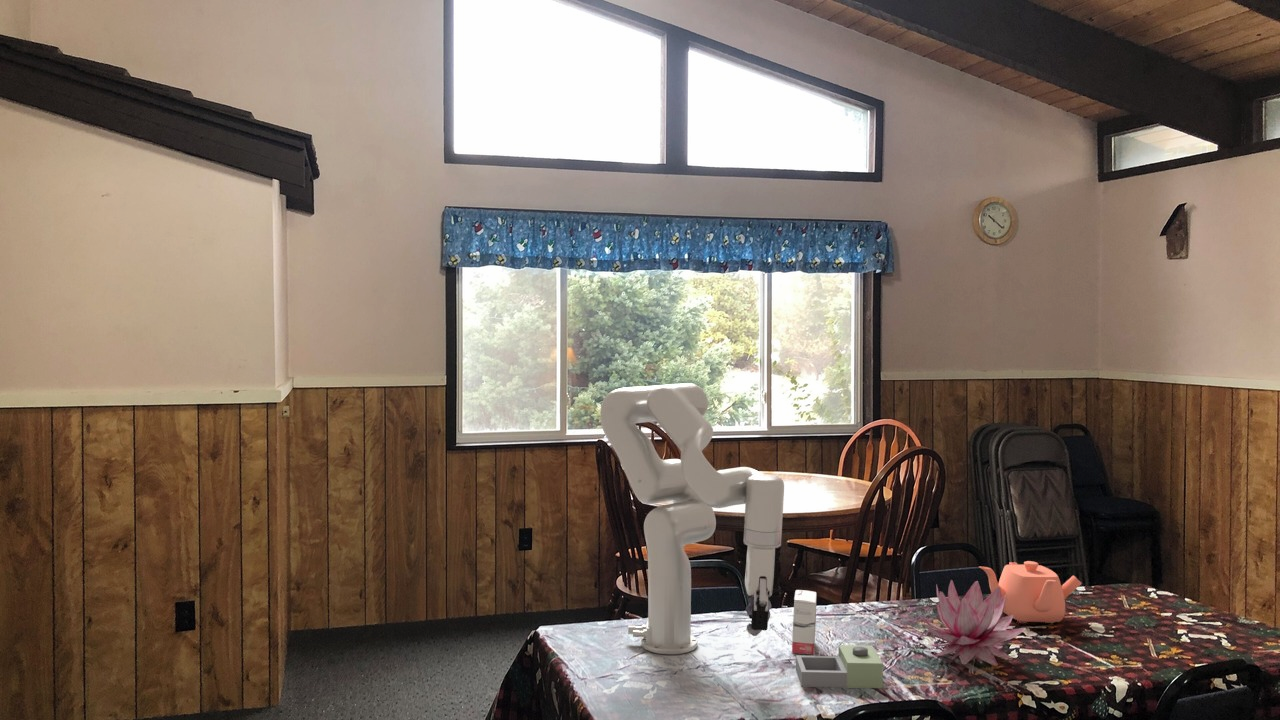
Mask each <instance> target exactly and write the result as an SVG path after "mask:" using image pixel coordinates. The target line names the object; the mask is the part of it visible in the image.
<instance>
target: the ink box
mask: <svg viewBox="0 0 1280 720" xmlns="http://www.w3.org/2000/svg"><path fill="white" fill-rule="evenodd" d="M793 600H794V601H793V602H794V603H793V614H792V615H793V618H792V638H791V639H792V640H791V644H792V645H791V654H797V655H798V654H799V655H800V654H801V655H802V654H803V655H810V656H814V654H815V642H816V641H815V640H816V625H817V624H816V623H817V621H816V620H817V592H816V591H813V590H808V589H807V590H806V589H805V590H803V589H796V590H795V592H794V597H793Z"/></svg>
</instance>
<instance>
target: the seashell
mask: <svg viewBox="0 0 1280 720" xmlns="http://www.w3.org/2000/svg"><path fill="white" fill-rule="evenodd" d="M756 595H759V592H756ZM758 600H759V598H757V601H758ZM747 602H748V605H747V606H746V607H745V613H746V615H748V616H749V615H751V616H752V609H754V595H752V596H749V598H748V600H747ZM771 608H772V604H771V601H770V599H768V622H769V620H770V619H771V618H770V617H771V611H770V610H771ZM746 631H747V633H748V634H750V635H751V636H753V637H757V636H758V635H759V634H760V633H761V632H762V631H763V630H753V629H752V628H751V622H749V623H748V624H747V625H746Z"/></svg>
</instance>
